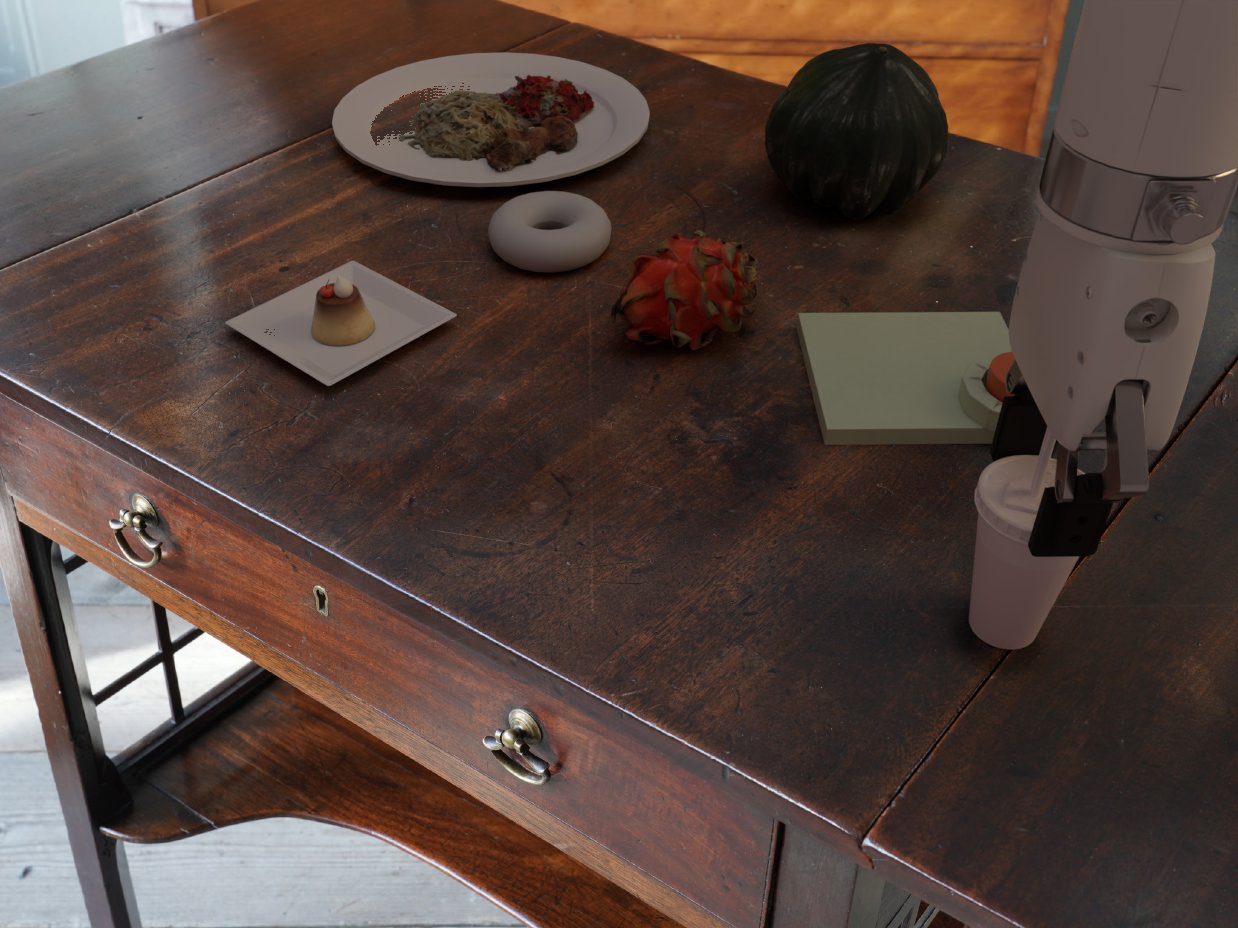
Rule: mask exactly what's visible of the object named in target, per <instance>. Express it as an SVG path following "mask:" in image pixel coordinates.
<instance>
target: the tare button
mask: <svg viewBox="0 0 1238 928" xmlns="http://www.w3.org/2000/svg"><path fill="white" fill-rule="evenodd" d="M1014 360H1015V357H1014V355H1013V352H1007V353H1003V354H1000V355H998V356H996V357H995V358H994V359H993V360H992V361H991V363H990V367H989V371H988V375H987V379H986V388H987V390H988V392H989V393H990V395H992V396H993V397H994V398H996V399H997V400H999V401H1000V402H1003V399H1004V396H1014V394H1008V393H1007V391H1006V385H1005V380H1006V375H1007V372H1008V370H1009V369H1010V367H1011V365H1012V364H1013V362H1014Z"/></svg>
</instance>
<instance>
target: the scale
mask: <svg viewBox="0 0 1238 928" xmlns="http://www.w3.org/2000/svg"><path fill="white" fill-rule="evenodd" d="M1003 317H1004V316H1003V315H1002V313H1001V311H906V312H905V311H903V312H902V311H901V312H900V311H898V312H896V311H895V312H894V311H893V312H890V311H889V312H888V311H887V312H886V311H885V312H882V311H880V312H878V311H877V312H798V313H797V317H796V325H795V328H796V333H797V337H798V341H799V345H800V350H801V354H802V357H803V361H804V366H805V370H806V374H807V378H808V383H809V386H810V391H811V395H812V398H813V399H812V400H813V402H814V407H815V411H816V416H817V419H818V424H819V428H820V432H821V436H822V440H823V444H824V445H825V446H855V445H856V446H857V445H859V446H860V445H862V446H863V445H867V446H868V445H869V446H870V445H972V444H973V445H974V444H975V445H977V444H978V445H979V444H980V445H981V444H983V445H985V444H986V445H988V444H990V445H992V442H993V438H994V434H995V430H996V426H997V422H998V418H999V414H1000V411H1001V407H1002V403H1003V402H1000V401H999V400H997V399H996V398H994V397H993V396H992V395H990V393H989V392H988V390H987V388H986V379H987V375H988V371H989V367H990V363H991V361H992V360H993V359H994V358H995V357H996V356H998V355H1000V354H1003V353H1007V352H1012V349H1011V346H1010V341H1009V327H1008V326H1007V323H1006V321H1005V319H1004V318H1003Z"/></svg>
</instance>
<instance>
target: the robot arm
mask: <svg viewBox="0 0 1238 928" xmlns="http://www.w3.org/2000/svg"><path fill="white" fill-rule="evenodd" d="M1069 59H1070V60H1069V62H1068V66H1067V70H1066V74H1065V78H1064V83H1063V86H1062V91H1061V94H1060V97H1059V98H1060V99H1059V101H1058V106H1057V110H1056V114H1055V117H1054V121H1053V122H1054V123H1053V127H1052V131H1051V134H1050V139H1049V142H1048V148H1047V152H1046V155H1045V159H1044V163H1043V167H1042V171H1041V176H1040V180H1039V184H1038V186H1037V191H1036V194H1035V203H1036V207H1037V209H1038V210H1039V213H1038V215H1037V218H1036V222H1035V225H1034V228H1033V231H1032V234H1031V236H1030V240H1029V242H1028V247H1027V250H1026V253H1025V257H1024V259H1023V262H1022V265H1021V270H1020V273H1019V278H1018V281H1017V284H1016V288H1015V292H1014V296H1013V301H1012V306H1011V311H1010V317H1009V324H1008V330H1009V341H1010V346H1011V349H1012V352H1013V355H1014V357H1015V360H1014V362H1013V364H1012V365H1011V367H1010V369H1009V370H1008V372H1007V375H1006V380H1005V385H1006V391H1007V393H1008V394H1014V396H1004V399H1003V403H1002V407H1001V411H1000V414H999V418H998V422H997V426H996V430H995V434H994V438H993V442H992V444H990V445H991V446H990V450H989V454H990V457H991V459H992V461H993V462H995V461H997V460H999V459H1002V458H1005V457H1009V456H1014V455H1038V456H1039V454H1040V450H1041V447H1042V443H1043V440H1044V436H1045V433H1046V429H1047V426H1048V428H1049V430H1050V432H1051V434H1052V435H1053V436H1054V438H1055V439H1056V442H1055V445H1054V448H1053V452H1052V455H1051V458H1054V454H1055V451H1056V447H1057V453H1056V460H1057V464H1056V474H1055V484H1054V487H1045V489H1044V492H1043V496H1042V499H1041V502H1040V506H1039V509H1038V512H1037V516H1036V519H1035V522H1034V526H1033V529H1032V532H1031V536H1030V539H1029V542H1028V547H1029V550H1030V552H1031V555H1032V556H1034V557H1079V558H1080V557H1092V556H1093V555H1095V554H1096V553H1097V551H1098V548H1099V545H1100V542H1101V540H1102V536H1103V533H1104V531H1105V529H1106V525H1107V522H1108V519H1109V517H1110V514H1111V511H1112V508H1113V505H1114V504H1117V503H1120V502H1122V501H1127V500H1129V499H1131V498H1136V497H1140V496H1145V495H1146V494H1147V493H1148V491H1149V488H1150V475H1149V460H1148V451H1154V452H1158V451H1160V450H1162V449H1163V448H1164V447H1165V446H1166V445H1167V443H1168V442H1169V439H1170V437H1171V435H1172V432H1173V430H1174V426H1175V424H1176V421H1177V418H1178V415H1179V411H1180V409H1181V406H1182V403H1183V400H1184V396H1185V393H1186V390H1187V387H1188V383H1189V380H1190V378H1191V373H1192V370H1193V368H1194V367H1193V366H1194V364H1195V360H1196V356H1197V352H1198V349H1199V345H1200V342H1201V337H1202V333H1203V330H1204V325H1205V321H1206V316H1207V312H1208V308H1209V303H1210V302H1209V301H1210V296H1211V290H1212V285H1213V279H1214V270H1215V262H1216V256H1217V255H1216V254H1217V253H1216V251H1215V249H1214V245H1213V244H1212V243H1213V242H1215V241H1216V240H1217V239H1218V238H1219V237H1220V236H1221V233H1222V231H1223V228H1224V225H1225V222H1226V220H1227V217H1228V214H1229V211H1230V208H1231V206H1232V203H1233V201H1234V198H1235V195H1236V192H1237V189H1238V0H1084V2H1083V5H1082V9H1081V14H1080V18H1079V22H1078V27H1077V31H1076V34H1075V39H1074V43H1073V47H1072V51H1071V55H1070V58H1069ZM1102 422H1104V424H1105V425H1104V426H1105V427H1104V428H1105V431H1095V430H1096V428H1097V427H1098V426H1099V425H1100V424H1101V423H1102ZM1057 444H1058V445H1057ZM1080 451H1081V452H1082V451H1091V452H1092V451H1093V452H1094V451H1095V452H1096V451H1104V459H1103V461H1104V462H1103V469H1102V470H1100V471H1097V472H1087V473H1085V474H1082V475H1077V469H1079V458H1080Z"/></svg>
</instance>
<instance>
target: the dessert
mask: <svg viewBox="0 0 1238 928" xmlns="http://www.w3.org/2000/svg"><path fill="white" fill-rule="evenodd" d="M457 316H458V314H457V313H456V312H453V311H451V310H449V309H447V308H445V307H444V306H441V305H440V304H439V303H436V302H434V301H432V300H430V299H428V298H426V297H425V296H422V295H421V294H419V293H417V292H415V291H413V290H411V289H409V288H408V287H405V286H403V285H402V284H399V283H398V282H396V281H394V280H392V279H390V278H388V277H387V276H384V275H382V274H380V273H379V272H376V271H374V270H373V269H371V268H369V267H367V266H365V265H363V264H361V263H359V262H357V261H356V260H350V261H348V262H346V263H344V264H342V265H339V266H338V267H336V268H334V269H331V270H330V271H327V272H326V273H323V274H322V275H320V276H317V277H315V278H313V279H311V280H309V281H307V282H305V283H303V284H301V285H299V286H297V287H294V288H292V289H291V290H288V291H286V292H284V293H282V294H280V295H278V296H276V297H274V298H272V299H269V300H267V301H265V302H263V303H261V304H259V305H257V306H255V307H253V308H250V309H249V310H247V311H245V312H243V313H240V314H239V315H237V316H233V317H232V318H231V319H228V320H226V321H225V322H224V324H225V325H227V326H229V327H230V328H232V329H233V330H235V331H237V332H238V333H240V334H242V335H243V336H245V337H246V338H248V339H250V340H251V341H252V342H255V343H257V345H260V346H261V347H263V348H265V349H266V350H267V351H269V352H271V353H273V354H274V355H276V356H277V357H279V358H281V359H282V360H284V361H286V362H288V363H289V364H291V365H292V366H294V367H296V368H297V369H299V370H301V371H302V372H304V373H306V374H308V375H309V376H310V377H312V378H314V379H315V380H317V381H319V382H320V383H321V384H323V385H325V386H327V387H330V386H333V385H334V384H336V383H339V382H340V381H342V380H344V379H346V378H347V377H350V376H351V375H353V374H355V373H357V372H358V371H360V370H362V369H364V368H366V367H367V366H369V365H372V364H373V363H375V362H376V361H378V360H380V359H382V358H384V357H385V356H387V355H389V354H391V353H393V352H394V351H396V350H398V349H400V348H401V347H402V348H403V346H405V345H407V344H409V343H411V342H413V341H414V340H416V339H418V338H420V337H421V336H423V335H425V334H427V333H429V332H431V331H432V330H434V329H436V328H438V327H440V326H441V325H443V324H446V323H447V322H449V321H451V320H452V319H454V318H456V317H457ZM266 329H269V330H266ZM274 329H275V330H274ZM266 331H268V332H267V333H264V332H266ZM270 332H272V333H270ZM269 334H271V335H269ZM274 335H275V336H274Z"/></svg>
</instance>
